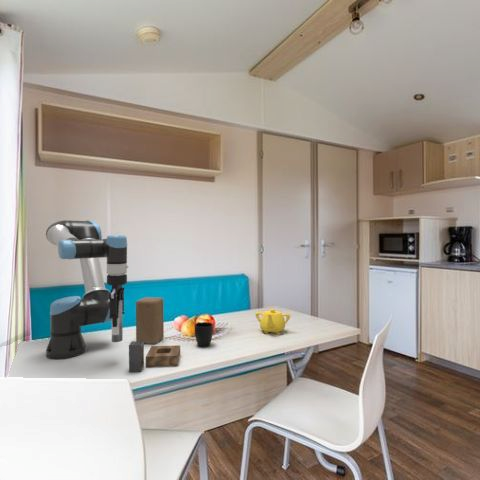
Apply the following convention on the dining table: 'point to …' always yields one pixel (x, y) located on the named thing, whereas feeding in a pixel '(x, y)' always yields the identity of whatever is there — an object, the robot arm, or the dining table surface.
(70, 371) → the dining table surface
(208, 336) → the mug
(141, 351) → the square bit
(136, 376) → the dining table surface
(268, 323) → the teapot
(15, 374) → the dining table surface
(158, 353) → the bore block
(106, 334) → the dining table surface
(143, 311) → the wooden block
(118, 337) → the bar
